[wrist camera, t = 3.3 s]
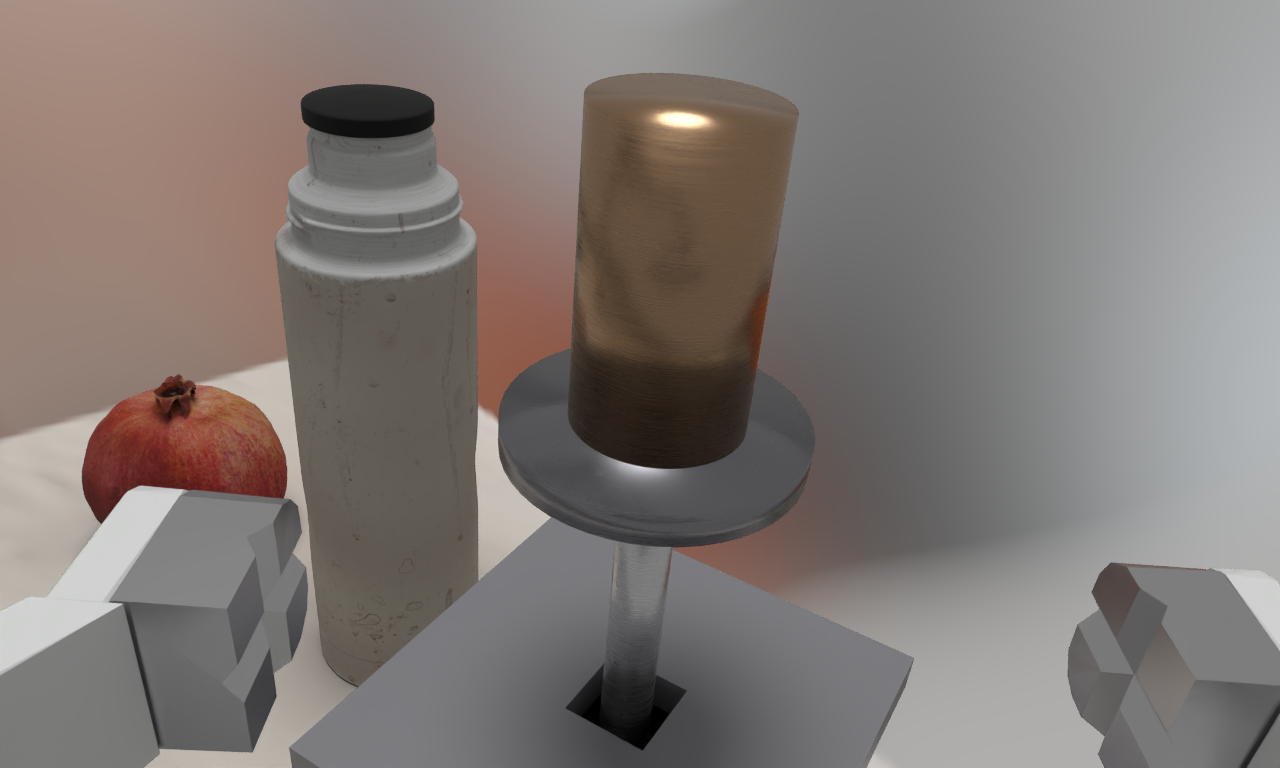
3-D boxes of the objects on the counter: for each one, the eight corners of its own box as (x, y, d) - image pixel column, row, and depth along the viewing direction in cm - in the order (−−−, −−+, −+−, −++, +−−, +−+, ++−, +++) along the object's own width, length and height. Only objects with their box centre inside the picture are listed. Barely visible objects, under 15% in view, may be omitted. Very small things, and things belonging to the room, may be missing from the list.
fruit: (81, 516, 58) (42, 368, 52) (253, 464, 63) (233, 325, 58) (133, 628, 51) (93, 469, 45) (321, 557, 56) (304, 409, 51)
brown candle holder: (691, 1028, 22) (850, 256, 13) (361, 809, 26) (290, 95, 17) (847, 730, 30) (1021, 105, 20) (572, 595, 34) (608, 20, 24)
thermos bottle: (449, 565, 56) (437, 65, 42) (500, 662, 51) (507, 119, 36) (305, 605, 53) (239, 72, 39) (343, 714, 47) (282, 134, 33)
